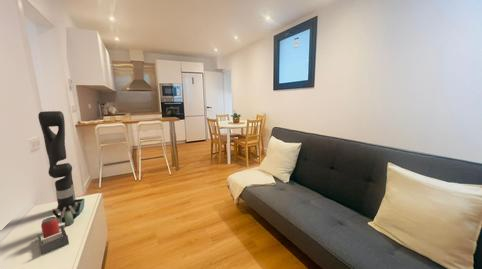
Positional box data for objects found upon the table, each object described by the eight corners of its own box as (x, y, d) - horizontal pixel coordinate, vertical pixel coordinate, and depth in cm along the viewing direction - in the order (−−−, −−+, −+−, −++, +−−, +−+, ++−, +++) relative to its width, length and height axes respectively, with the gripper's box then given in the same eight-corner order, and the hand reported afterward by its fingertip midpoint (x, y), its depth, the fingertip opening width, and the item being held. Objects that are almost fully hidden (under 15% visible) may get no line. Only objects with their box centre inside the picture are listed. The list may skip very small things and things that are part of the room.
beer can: (42, 244, 107) (38, 224, 105) (47, 237, 113) (43, 218, 111) (58, 240, 110) (54, 221, 108) (62, 233, 116) (58, 214, 114)
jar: (64, 223, 125) (62, 210, 123) (73, 220, 128) (71, 207, 127) (65, 226, 122) (63, 213, 121) (74, 222, 125) (72, 210, 124)
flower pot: (86, 209, 141) (84, 198, 140) (80, 216, 133) (79, 204, 132) (71, 211, 139) (69, 200, 137) (65, 218, 131) (62, 206, 129)
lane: (38, 239, 111) (36, 231, 110) (63, 230, 119) (62, 222, 118) (40, 255, 99) (39, 246, 99) (69, 243, 108) (67, 235, 107)
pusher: (43, 245, 106) (42, 239, 105) (62, 238, 112) (61, 231, 111) (43, 246, 106) (42, 239, 105) (62, 238, 111) (61, 232, 111)
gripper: (78, 189, 130) (81, 213, 133) (48, 197, 119) (53, 223, 122) (80, 193, 125) (84, 217, 128) (49, 201, 114) (54, 228, 117)
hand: (69, 220), depth 125 cm, fingers closed on jar, 4 cm apart
